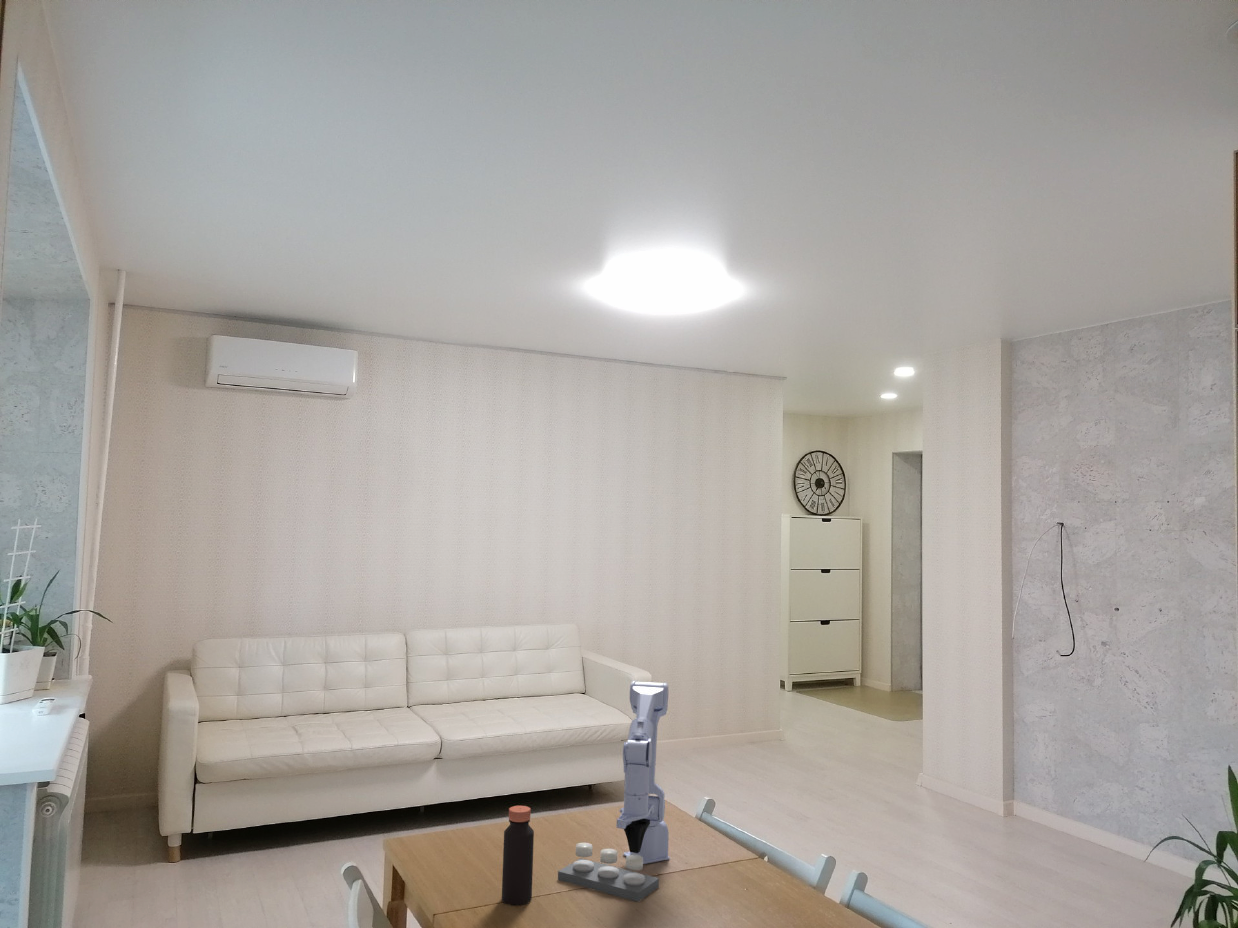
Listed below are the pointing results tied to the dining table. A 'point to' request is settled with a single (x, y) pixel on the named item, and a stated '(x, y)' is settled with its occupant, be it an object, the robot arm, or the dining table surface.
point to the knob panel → (609, 879)
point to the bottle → (518, 858)
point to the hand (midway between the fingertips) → (634, 851)
